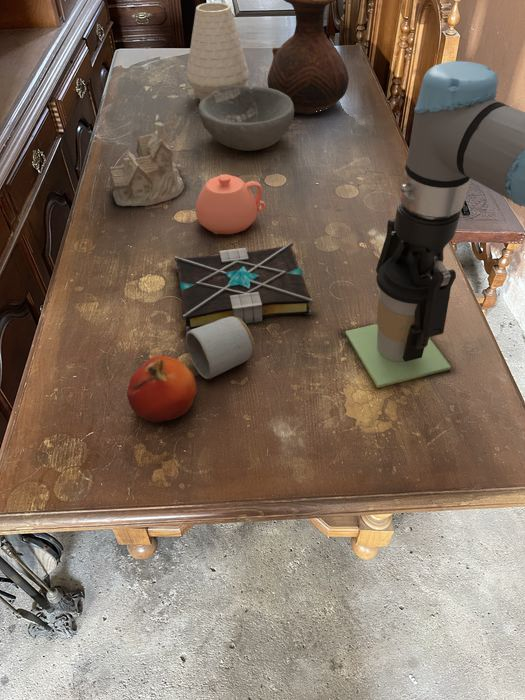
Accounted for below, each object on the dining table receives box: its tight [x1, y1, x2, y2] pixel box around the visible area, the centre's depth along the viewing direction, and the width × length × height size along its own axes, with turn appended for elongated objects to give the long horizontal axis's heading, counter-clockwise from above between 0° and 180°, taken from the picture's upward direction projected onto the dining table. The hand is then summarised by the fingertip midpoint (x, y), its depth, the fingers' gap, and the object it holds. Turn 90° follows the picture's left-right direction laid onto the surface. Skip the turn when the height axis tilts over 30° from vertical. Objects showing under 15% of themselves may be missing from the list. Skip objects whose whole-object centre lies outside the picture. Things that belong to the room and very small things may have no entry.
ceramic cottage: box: [109, 121, 185, 207], centre depth 115 cm, size 16×16×15 cm
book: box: [174, 241, 314, 333], centre depth 93 cm, size 22×17×5 cm
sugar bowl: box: [195, 173, 266, 235], centre depth 106 cm, size 12×14×10 cm
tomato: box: [126, 355, 198, 423], centre depth 74 cm, size 9×9×8 cm
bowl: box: [197, 85, 295, 151], centre depth 132 cm, size 23×22×10 cm
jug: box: [266, 0, 350, 115], centre depth 140 cm, size 22×22×30 cm
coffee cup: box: [375, 256, 430, 362], centre depth 78 cm, size 9×9×15 cm
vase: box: [185, 2, 250, 102], centre depth 146 cm, size 17×17×23 cm
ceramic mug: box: [185, 316, 255, 380], centre depth 81 cm, size 11×8×8 cm
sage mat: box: [344, 323, 452, 389], centre depth 84 cm, size 12×12×1 cm
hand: (398, 337), depth 82 cm, fingers closed on coffee cup, 8 cm apart
